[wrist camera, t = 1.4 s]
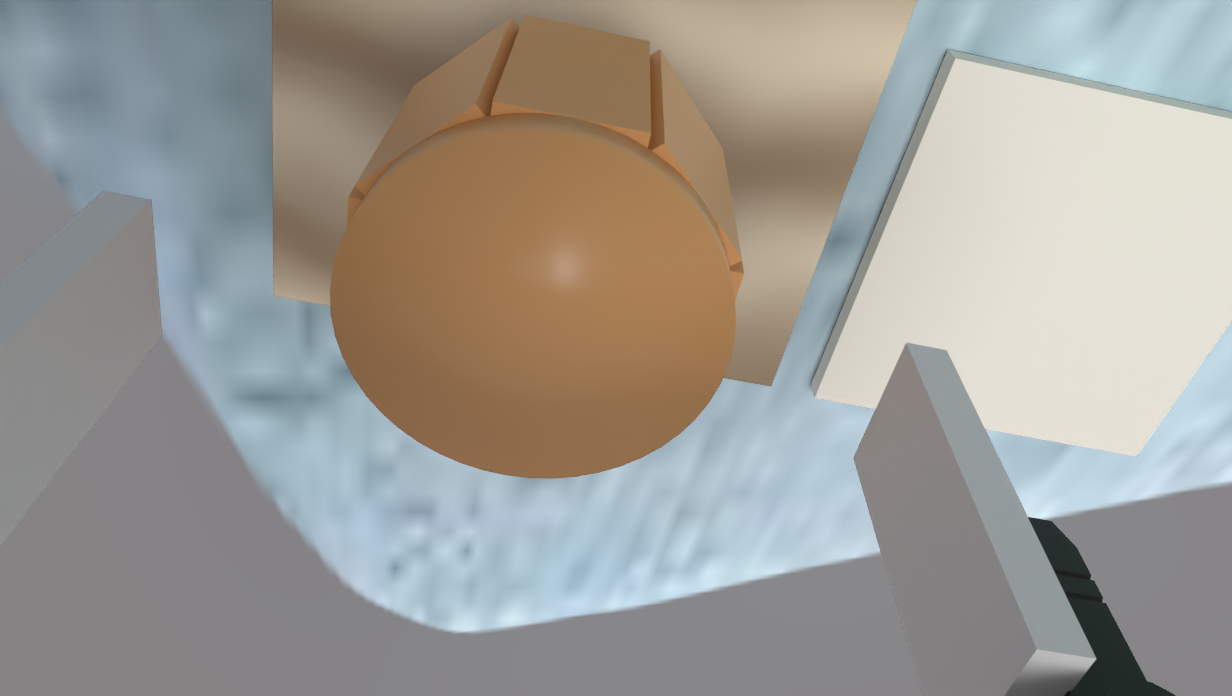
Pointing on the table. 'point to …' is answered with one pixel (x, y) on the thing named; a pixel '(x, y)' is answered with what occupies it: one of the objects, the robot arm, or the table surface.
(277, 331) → the table surface
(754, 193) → the post base
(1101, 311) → the pad
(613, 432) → the cap
